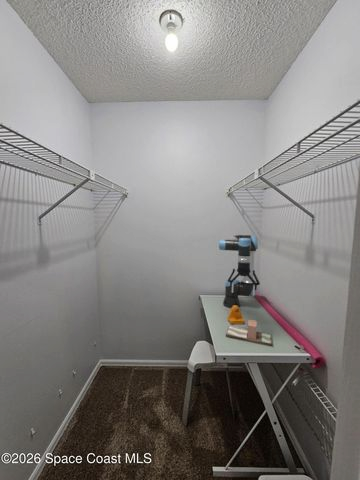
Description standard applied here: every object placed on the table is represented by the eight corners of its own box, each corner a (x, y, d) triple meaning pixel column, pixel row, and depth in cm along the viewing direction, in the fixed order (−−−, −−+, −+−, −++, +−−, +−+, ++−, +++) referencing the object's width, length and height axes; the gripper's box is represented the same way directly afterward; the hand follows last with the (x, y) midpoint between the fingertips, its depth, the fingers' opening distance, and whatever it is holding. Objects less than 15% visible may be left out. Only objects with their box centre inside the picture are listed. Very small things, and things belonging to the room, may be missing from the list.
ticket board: (228, 328, 145) (228, 325, 145) (271, 336, 135) (271, 333, 135) (225, 337, 134) (225, 334, 134) (272, 346, 124) (272, 343, 123)
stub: (248, 330, 139) (248, 319, 138) (256, 332, 137) (256, 320, 136) (247, 337, 130) (248, 325, 130) (255, 339, 128) (256, 326, 128)
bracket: (230, 324, 151) (231, 309, 150) (227, 320, 158) (228, 305, 157) (245, 324, 151) (245, 308, 151) (241, 319, 159) (241, 304, 158)
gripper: (223, 261, 135) (223, 292, 137) (264, 264, 126) (263, 298, 128) (225, 259, 142) (224, 289, 144) (264, 262, 133) (263, 294, 135)
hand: (242, 293), depth 136 cm, fingers open, 13 cm apart
